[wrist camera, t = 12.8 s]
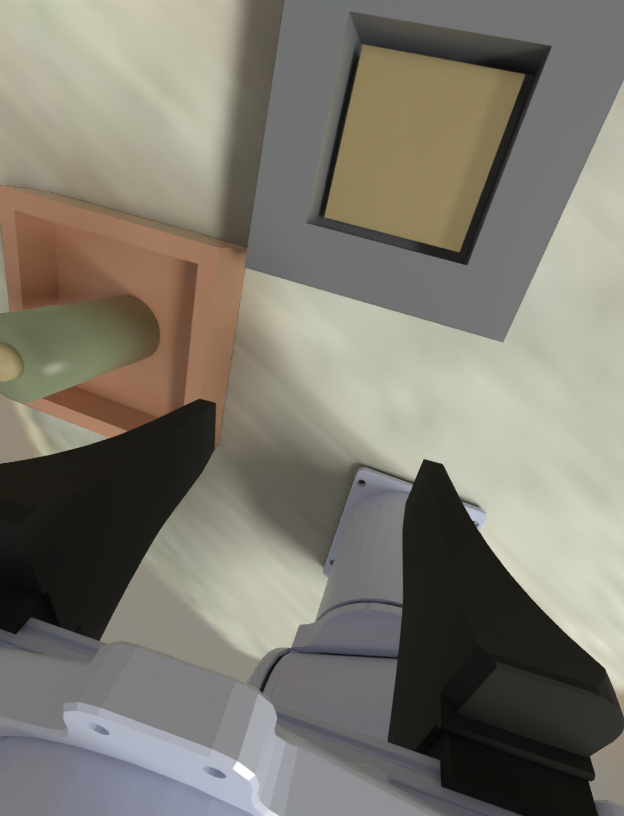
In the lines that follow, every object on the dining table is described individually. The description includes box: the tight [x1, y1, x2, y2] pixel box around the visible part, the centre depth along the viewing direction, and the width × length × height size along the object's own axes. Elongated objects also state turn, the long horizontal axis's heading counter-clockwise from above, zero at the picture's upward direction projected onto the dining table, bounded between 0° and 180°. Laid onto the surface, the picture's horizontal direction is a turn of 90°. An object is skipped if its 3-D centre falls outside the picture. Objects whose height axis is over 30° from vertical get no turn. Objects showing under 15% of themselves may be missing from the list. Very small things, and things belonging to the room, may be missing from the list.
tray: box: [0, 185, 247, 448], centre depth 24 cm, size 13×13×3 cm
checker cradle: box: [244, 0, 624, 342], centre depth 16 cm, size 12×12×4 cm
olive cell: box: [0, 295, 160, 403], centre depth 21 cm, size 4×4×9 cm
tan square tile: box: [324, 45, 525, 252], centre depth 16 cm, size 6×6×1 cm
